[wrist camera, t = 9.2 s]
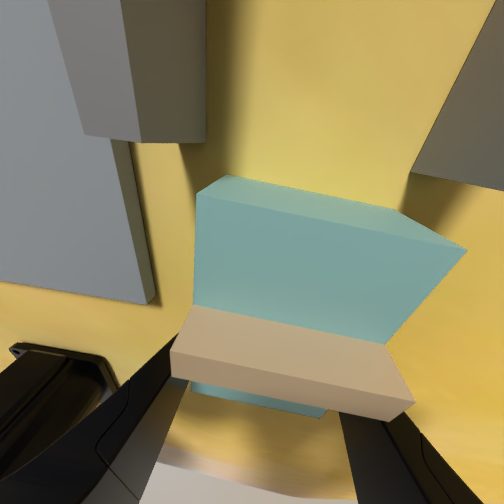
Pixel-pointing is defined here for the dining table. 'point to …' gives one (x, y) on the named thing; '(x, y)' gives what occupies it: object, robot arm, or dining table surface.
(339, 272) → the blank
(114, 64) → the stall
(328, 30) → the dining table surface
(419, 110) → the dining table surface
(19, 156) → the mat
